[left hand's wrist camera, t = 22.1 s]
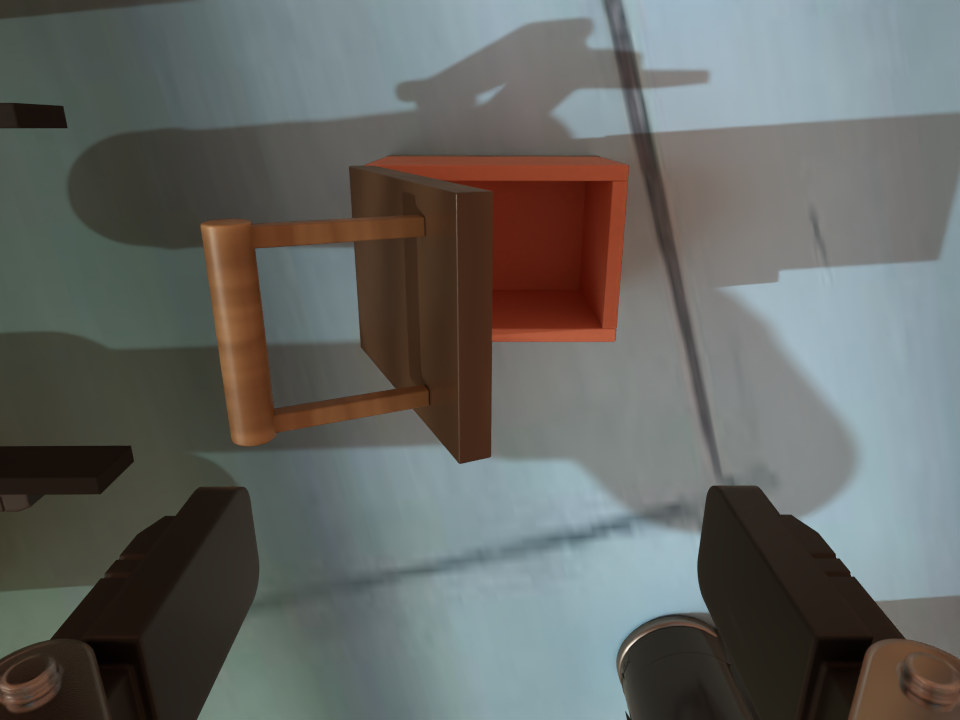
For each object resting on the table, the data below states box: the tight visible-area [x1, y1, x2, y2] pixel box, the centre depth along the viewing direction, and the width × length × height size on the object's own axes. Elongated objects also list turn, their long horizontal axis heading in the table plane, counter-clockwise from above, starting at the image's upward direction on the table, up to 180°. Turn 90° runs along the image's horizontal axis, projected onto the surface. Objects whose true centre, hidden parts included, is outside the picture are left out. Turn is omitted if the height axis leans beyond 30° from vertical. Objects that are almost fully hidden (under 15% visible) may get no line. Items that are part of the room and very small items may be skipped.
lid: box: [201, 166, 493, 464], centre depth 26 cm, size 14×10×9 cm
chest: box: [364, 155, 629, 342], centre depth 39 cm, size 14×10×10 cm
